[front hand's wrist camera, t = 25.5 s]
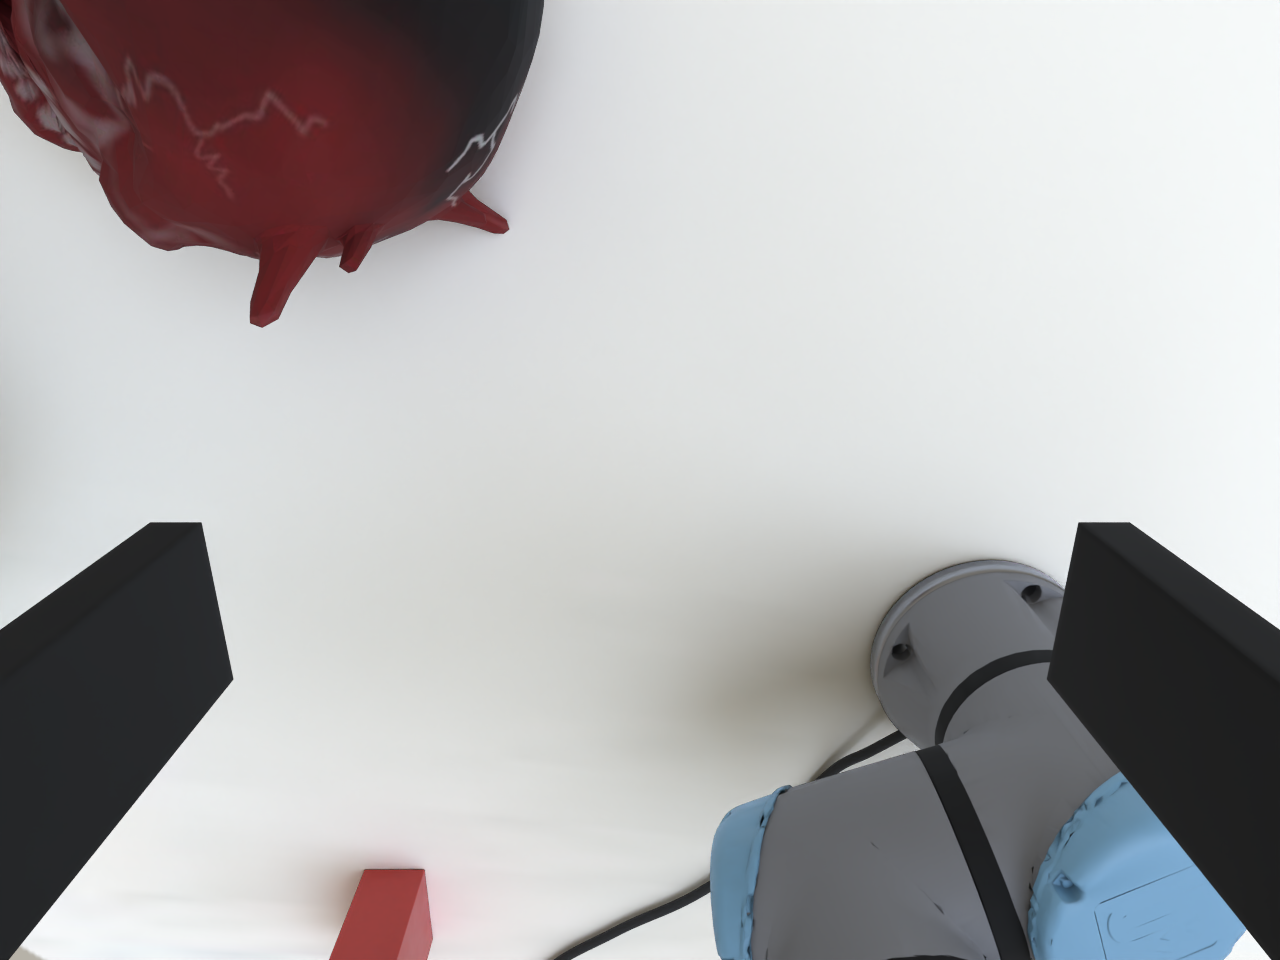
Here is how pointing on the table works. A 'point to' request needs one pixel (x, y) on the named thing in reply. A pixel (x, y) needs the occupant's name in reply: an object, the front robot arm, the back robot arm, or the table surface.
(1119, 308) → the table surface
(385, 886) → the brick
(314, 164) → the dark red round lump
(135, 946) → the table surface
